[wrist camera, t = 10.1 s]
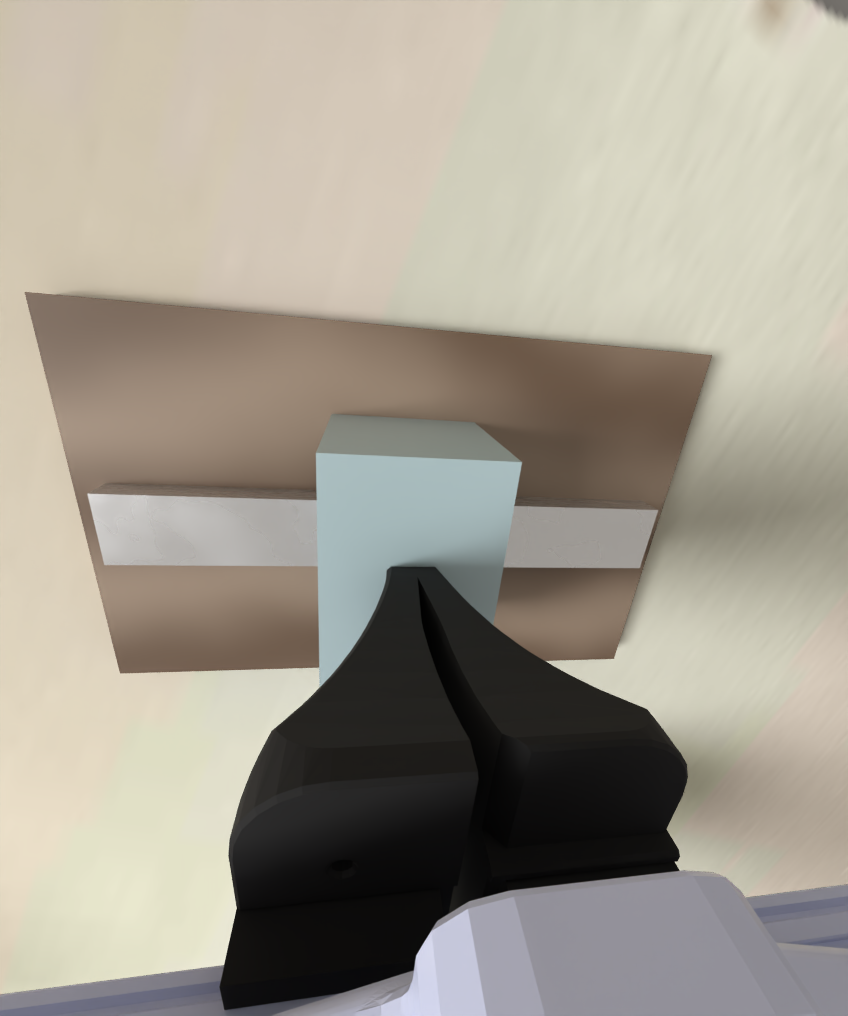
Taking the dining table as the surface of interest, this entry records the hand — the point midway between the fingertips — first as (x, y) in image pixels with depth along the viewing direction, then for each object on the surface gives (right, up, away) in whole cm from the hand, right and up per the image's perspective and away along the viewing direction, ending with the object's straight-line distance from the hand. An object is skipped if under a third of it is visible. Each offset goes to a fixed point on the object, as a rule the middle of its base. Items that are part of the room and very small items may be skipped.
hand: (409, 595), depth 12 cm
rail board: (-1, +2, +5) cm, 6 cm away
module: (-1, +2, +4) cm, 5 cm away
